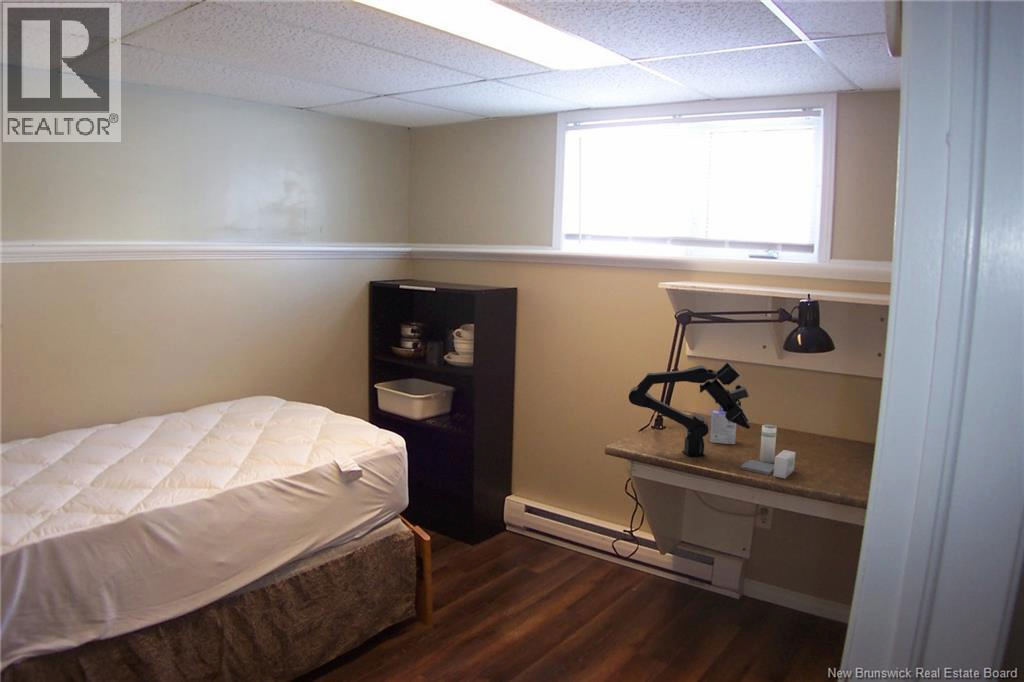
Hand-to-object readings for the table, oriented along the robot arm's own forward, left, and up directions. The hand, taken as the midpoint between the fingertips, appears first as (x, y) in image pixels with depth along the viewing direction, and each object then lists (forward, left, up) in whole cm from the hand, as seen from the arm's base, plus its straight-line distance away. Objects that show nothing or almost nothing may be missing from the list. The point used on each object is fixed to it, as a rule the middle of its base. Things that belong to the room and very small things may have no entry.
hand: (748, 424), depth 263 cm
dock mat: (-1, -11, -13) cm, 17 cm away
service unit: (+4, -17, -13) cm, 22 cm away
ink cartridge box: (+4, +21, -13) cm, 25 cm away
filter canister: (+7, -4, -13) cm, 15 cm away
